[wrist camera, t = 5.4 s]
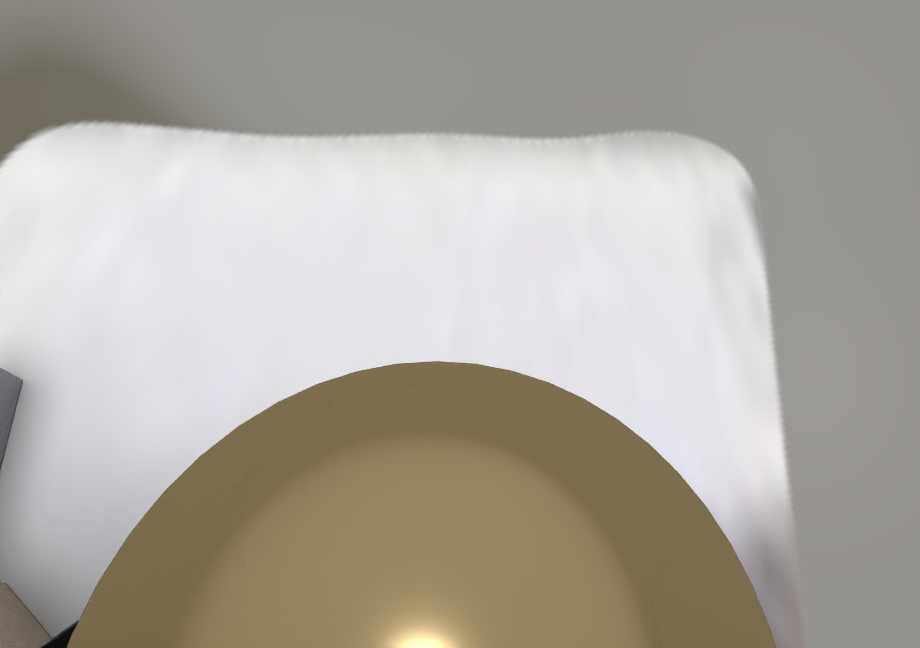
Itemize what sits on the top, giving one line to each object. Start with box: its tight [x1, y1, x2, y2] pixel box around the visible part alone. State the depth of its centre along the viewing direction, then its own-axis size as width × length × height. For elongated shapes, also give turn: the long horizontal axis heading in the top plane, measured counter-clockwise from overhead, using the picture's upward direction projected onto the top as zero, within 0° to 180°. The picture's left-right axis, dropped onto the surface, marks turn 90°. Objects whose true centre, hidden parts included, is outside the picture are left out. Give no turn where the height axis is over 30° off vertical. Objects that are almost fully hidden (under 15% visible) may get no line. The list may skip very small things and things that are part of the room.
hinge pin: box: [67, 361, 776, 648], centre depth 8 cm, size 4×4×12 cm
